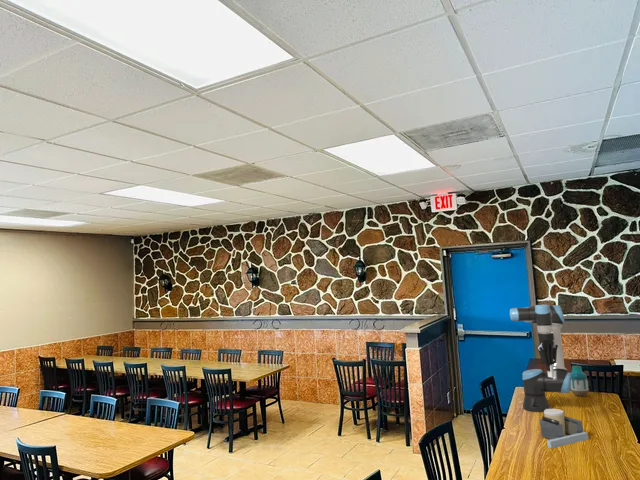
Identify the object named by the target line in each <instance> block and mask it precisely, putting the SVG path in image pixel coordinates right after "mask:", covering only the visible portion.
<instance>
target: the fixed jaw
mask: <svg viewBox="0 0 640 480" xmlns="http://www.w3.org/2000/svg"><path fill="white" fill-rule="evenodd" d="M564 420H565V436H568V435H573V434H577V433H581V432H584V427H583V421H582V420H579V419H577V418H573V417H568V416H566V415H564Z"/></svg>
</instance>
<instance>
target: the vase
mask: <svg viewBox="0 0 640 480" xmlns="http://www.w3.org/2000/svg"><path fill="white" fill-rule="evenodd" d="M571 369H572V371H571V372H569V373H570V374H571V390H570V392H571V393H572V394H573V395H574V396H577V397H585V396H587V395H588V394H589V393H590V391H589V390H590V389H589V381H588V377H587V376H588V375H587V374H586V373H585V372H584V371H583V370H582V366H581V365H572V366H571Z"/></svg>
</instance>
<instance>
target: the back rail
mask: <svg viewBox="0 0 640 480" xmlns="http://www.w3.org/2000/svg"><path fill="white" fill-rule="evenodd" d="M587 440H589V433H588V432H586V431H583V432H581V433H577V434H573V435H565V436H564V437H560V438H555V439H547V440H546V441H547V442H546V443H547V447H548V448H549V449H554V448H559V447H562V446H566V445H570V444H576V443H580V442H584V441H587Z"/></svg>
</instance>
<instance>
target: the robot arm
mask: <svg viewBox="0 0 640 480" xmlns="http://www.w3.org/2000/svg"><path fill="white" fill-rule="evenodd" d="M509 317H510V320H511V321H512V322H525V323H530V324H535V325H536V328H537V333H538V334H537V337H538V340H539V346H536V349H537V351H538V353H539V356H540V360H541V363H542V364H543V365H545V368H546V370H545V371H543V370H542V369H540V368H533V369H527V370H524V371H523V372H522V374H521V375H522V384H523V393H524V398H523V403H522V409H524V411H529V412H534V413H541V412H543V413H544V410H546V409H551V405H550V404H549V401H548V399H547V397H546V393H559V394H569V393H570V392H571V374H570V373H571V372H569V371H568V369H567V368H566V367H565V359H564V352H563V351H564V350H563V341H562V334H561V333H562V331H561V329H562V328H563V325H564V324H565V323H566V322H565V318H564V313H563V310H562V307H561V306H560V305H559V304H555V305H554V304H550V305H549V304H536V305H533V306H527V307H525V306H524V307H514V308H510V309H509Z"/></svg>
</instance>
